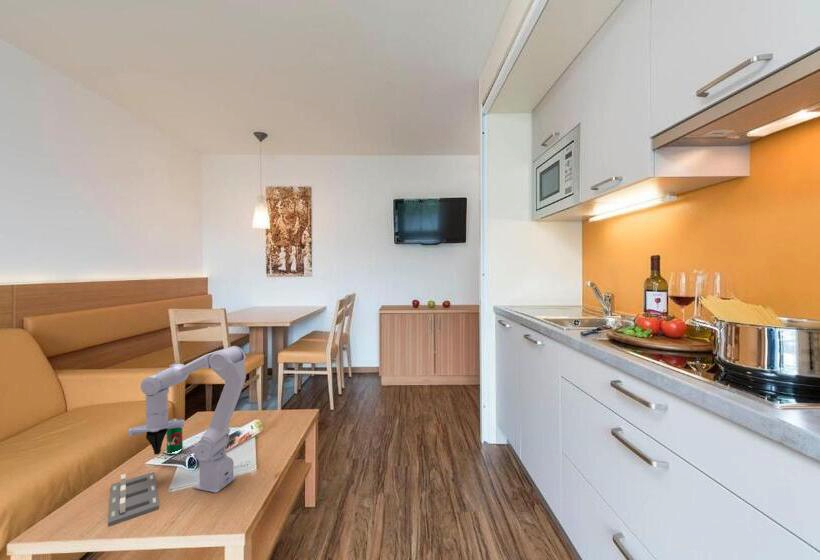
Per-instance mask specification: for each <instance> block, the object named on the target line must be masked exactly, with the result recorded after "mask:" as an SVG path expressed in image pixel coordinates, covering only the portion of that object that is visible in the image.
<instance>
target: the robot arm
mask: <svg viewBox="0 0 820 560" xmlns="http://www.w3.org/2000/svg"><path fill="white" fill-rule="evenodd" d="M246 358H247V356H246V354H245V352H244V351H243V349H242V348H241V347H239V346H237V345H232V346H229V347H227V348H223V349H219V350H216V351H213V352H210V353H207V354H204V355H202V356H201V357H200V356H199V357H198V358H196V359H193V360H192V361H190V362H188V363H187V364H182V363H172V364H169V367H168V368H166V369H164V370H159V371H157V372H156V374H154V375H151V376H147V377H145V378H144V379H143V380H142V381H141V384H140V390H141V392H142V393H143V394H145V424H143V425H139V426H135V427H129V429H128V437H133V436H136V435H143V434H145V435H146V436H145V437H146V440H147V441H148V443H149V444H150V445H151V447H152V448H151V449H152V450H153V454H154V455H160V454H161V452H162V451H161V450H162V446H163V441H164V438H165V436H166V432H167V430H168V429H172V428H178V427H180V428H182V429H183V428H184V426H185V419H181V420H173V419H172V420H173V421H170V420H169V419H168V418H169V412H168V411H169V410H168V409H169V408H168V405H169V404H168V403H169V402H168V400H169V399H168V395H169V394H168V393H169V392H170V388H171V387H173V386H176V385H178V384H180V383H182V382H184V381H186V380H187V379H188V378H189V375H190V374H192V373H193V372H197V371H199V370H200V369H203V368H206V369H208V370H212V371H213V372H214V373H216V374H217V376H218V377H220V379H222V380H224V382H225V383H224V386H223V389H222V391H221V393H220V397H219V400H218V402H217V405H216V407H215V410H214V413H213V415H212V418H211V421H210V422H209V426H208V428H207V429H206V430H205V431H204V433H203V435H202V436H201V438H200V440H199V441H198V442H197V443H196V445H195V446H194V447H193V455H194V457H195V459H196V460H198V463H199V482H197V483H195V484H194V485H193V486H192V489H196V490H202V491H207V492H211V493H218V492H219V491H221V490H222V489H223V488H225V487H226V486H228V485H229V484H230V483H232V482H233V481H235V480H236V476H235V475H234V460H233V458H232V457H230V456H228V455H227V453H226V451H227V448H226V447H227V446H228V444H229V442H230V431H231V429H230V427H229V424H230V422H231V420H232V419H231V418H232V416H233V414H234V411H235V409H236V406H237V403H238V401H239V398H240V395H241V392H242V390H243V388H244V385H245V382H246V378H247V374H246V373H247V372H246V365H245V362H246Z"/></svg>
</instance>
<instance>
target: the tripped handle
mask: <svg viewBox="0 0 820 560" xmlns="http://www.w3.org/2000/svg"><path fill="white" fill-rule="evenodd" d="M125 510H126V505H125V497H123V498H120V513H123V512H125Z"/></svg>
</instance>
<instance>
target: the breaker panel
mask: <svg viewBox="0 0 820 560" xmlns="http://www.w3.org/2000/svg"><path fill="white" fill-rule="evenodd" d="M126 476H127V474H126V473H123V474H120V481H118V482H115V483H111V485H110V494H109V495H110V496H109V497H110V498H109V508H108V509H109V510H108V524H107V526H108V527H110V526H113V525H116V524H118V523H121V522H125V521H127V520H131V519H133V518H136V517H139V516H142V515H145V514H147V513H151V512H153V511H156V510H159V509H160V504H159V503H160V502H159V497H158V488H157V481H156V475H155V471H153V472H152V471H151V472H149V473H145V474H142V475H139V476H135V477H133V478H132V477H131V478H129V479H127V477H126ZM123 497H125V505H126V510H125V512H123V513H120V498H123Z"/></svg>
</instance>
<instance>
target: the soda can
mask: <svg viewBox="0 0 820 560" xmlns="http://www.w3.org/2000/svg"><path fill="white" fill-rule="evenodd" d="M173 420H182V419H181V418H172V419H170V420H169V421H173ZM165 436H166V440H165V441H166V454H167V453H172V452H175V451H178V450H180V449H182V448H183V449H184V446H183V444H184V441H183V437H184V436H183V427H182V428H180V427H178V428H172V429H168V430H167V432H166V434H165Z"/></svg>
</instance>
